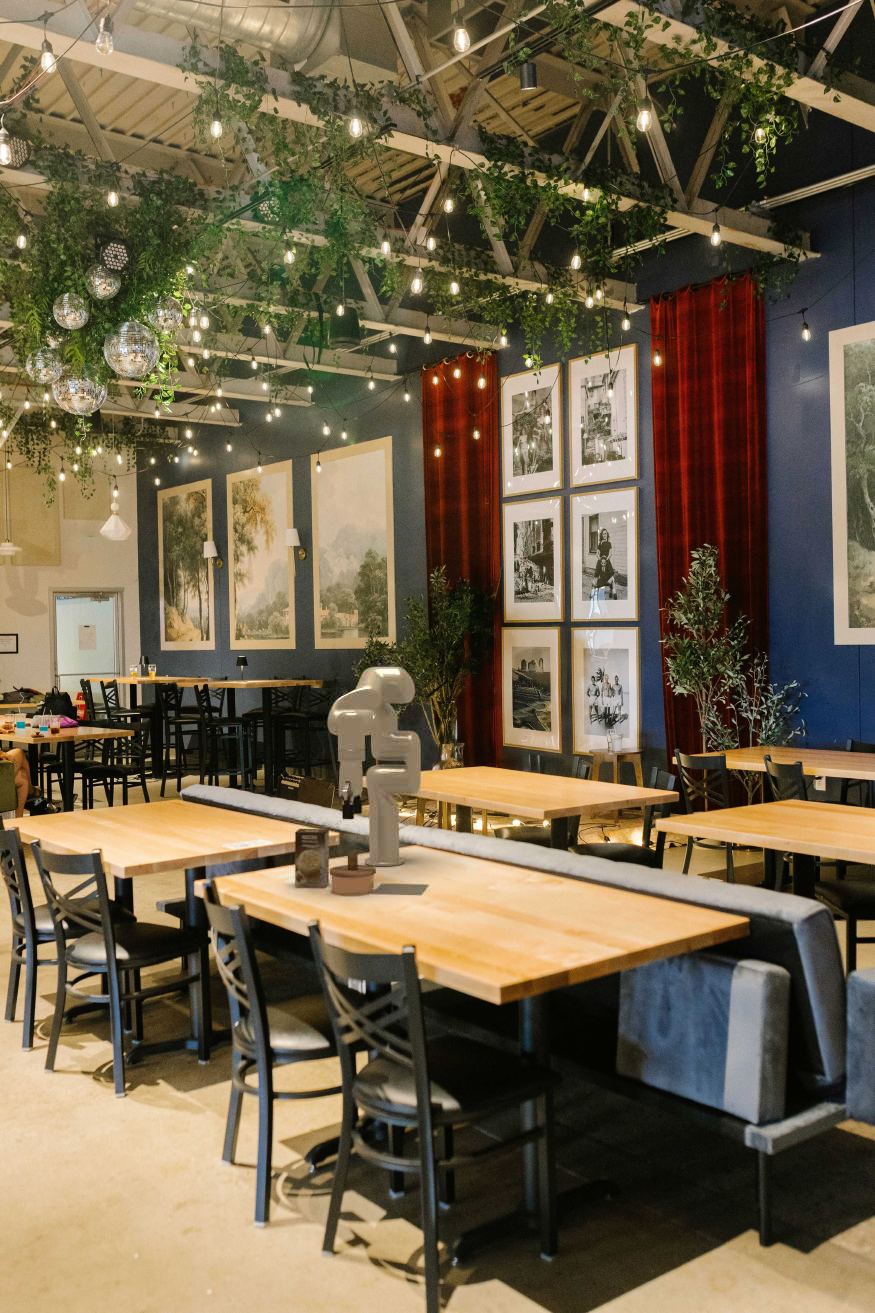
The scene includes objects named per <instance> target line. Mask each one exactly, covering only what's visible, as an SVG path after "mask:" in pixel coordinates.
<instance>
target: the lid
mask: <svg viewBox="0 0 875 1313" xmlns="http://www.w3.org/2000/svg"><path fill="white" fill-rule="evenodd" d="M358 852H359V851H358V850H348V851H347V864H346V865H339V866H334V867H331V868H329V876H330V875H331V877H332V876H336V877H365V876H370V875H373V874H374V875H375V874H377V868H376V866H371V865H367V864H358V863H359V861H358V860H359V858H358V856H359V854H358Z"/></svg>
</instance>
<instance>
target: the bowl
mask: <svg viewBox="0 0 875 1313" xmlns="http://www.w3.org/2000/svg"><path fill="white" fill-rule="evenodd" d="M374 878H375V874H373V875H370V876H365V877H336V876H332V875H331V891H332V892H333V894H335V895H338V896H352V897H353V896H362V895H368V894H372V893H373V889H375V888H374V886H375V885H374V883H375V882H374V880H375V879H374Z"/></svg>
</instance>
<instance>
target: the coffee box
mask: <svg viewBox="0 0 875 1313" xmlns="http://www.w3.org/2000/svg"><path fill="white" fill-rule="evenodd" d="M294 836H295V837H294V847H295V848H294V850H295V851H294V854H295V855H294V856H295V858H294V862H295V863H294V879H295V880H294V887H295V888H314V889H315V888H316V889H319V888H321V889H322V888H323V889H326V887H327V886H328V885H329V884H330V880H329V879H330V866H329V865H330V854H329V853H330V841H329V840H330V829H328V828H327V829H326V828H325V829H322V828H321V829H320V828H299V829H297V830H296V831H295V832H294Z"/></svg>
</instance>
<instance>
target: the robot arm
mask: <svg viewBox="0 0 875 1313" xmlns="http://www.w3.org/2000/svg"><path fill="white" fill-rule="evenodd" d="M415 694H416V687H415V683H414V680H413V678H412V677H411V675H410V674H409V673H408V672H407V671H406V670H405V669H404V668H402V667H400V666H372V667H368V668H367V669H365V670H363V672H362V674H361V676H360V678H359V680H358V682H357V685H356V687H355V689H354V690H352V691H349V692H348V693H345V694H344V695H342V696H340V697H339V698H337V699H336V700H335V701H334V703H333V704H332V705H331V706H332V707H331V708H330V711H329V714H328V717H327V728H328V731H329V732H330V733H331V734H333V735H335V736H337V745H338V746H337V747H338V748H337V751H338V752H337V756H338V758H337V759H338V760H337V761H338V762H340V764H339V777H338V778H339V780H338V796H339V797H341V799H342V802H341V806H342V808H341V810H342V812H341V813H342V814H341V816H342V819H343V820H354V819H355V815H361V814H363V798H362V797H363V795H362V793H363V788H364V785H363V784H364V780H363V778H364V776H363V762H365V761H366V737H365V736H370V737H371V738H370V749H371V750H370V751H371V755H372V757H373V759H376V760H378V761H403V762H405V764H376V765H372V766H371V767H369V768H368V769H367V771H366V774H365V781H366V789H367V795H368V796H367V797H368V807H369V808H368V815H369V816H368V817H369V821H368V822H369V825H368V826H369V832H368V833H369V835H368V836H369V840H368V841H369V857H367V858H365V859H364V865H367V866H372V867H392V866H393V867H394V866H400V865H403V864H404V863H405V859H404V858H403V857H401V856H400V811H399V810H400V809H399V806H398V804H397V802H396V801H395V799H394V798H393V795H400V796H401V795H405V796H406V795H407V796H408V795H409V796H411V795H415V794H417V793H418V792H419V791H420V788H421V774H422V773H421V772H422V771H421V770H422V769H421V764H422V762H421V760H422V759H421V758H422V757H421V750H422V748H421V740H420V737H419V734H417V732H415V731H412V730H399V729H398V714H397V712H396V710H395V709H394V708H393V706H392V705H391V704H408V703H411V702H412V701H413V699H414V697H415Z"/></svg>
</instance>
